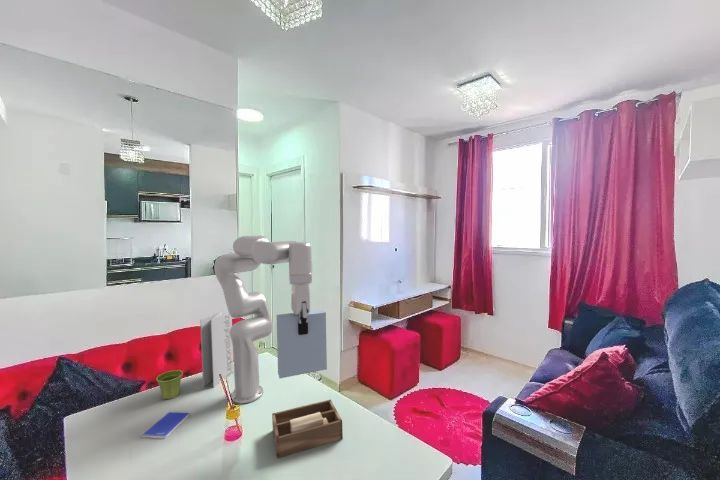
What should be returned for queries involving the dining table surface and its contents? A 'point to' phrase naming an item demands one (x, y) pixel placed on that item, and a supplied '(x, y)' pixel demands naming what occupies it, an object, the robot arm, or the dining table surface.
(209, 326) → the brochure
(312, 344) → the panel
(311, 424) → the offcut stack
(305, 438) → the brown wooden open box
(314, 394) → the dining table surface
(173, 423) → the hard drive
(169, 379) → the plant pot
